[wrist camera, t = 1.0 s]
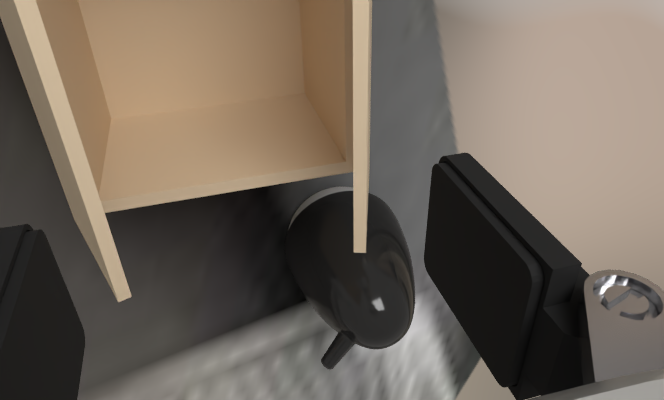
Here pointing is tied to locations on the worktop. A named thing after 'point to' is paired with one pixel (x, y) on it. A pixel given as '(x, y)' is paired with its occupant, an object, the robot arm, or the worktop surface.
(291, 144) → the carton
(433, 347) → the worktop surface
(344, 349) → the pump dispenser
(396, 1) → the worktop surface
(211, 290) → the worktop surface
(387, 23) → the worktop surface
